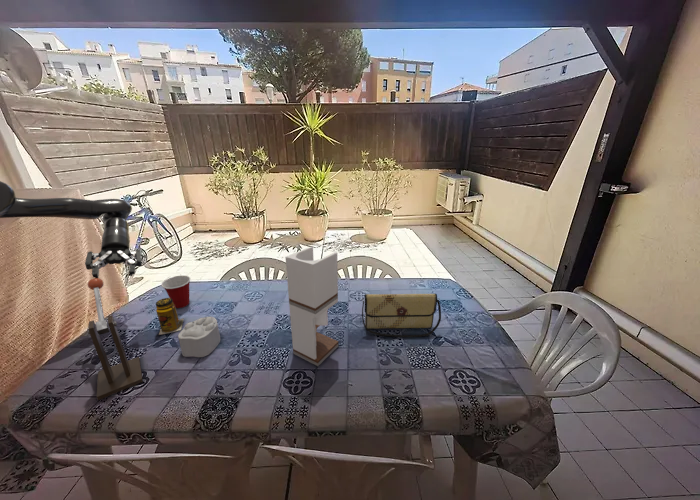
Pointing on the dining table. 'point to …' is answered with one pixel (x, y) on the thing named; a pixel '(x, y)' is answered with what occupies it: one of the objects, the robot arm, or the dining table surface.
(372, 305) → the clutch purse
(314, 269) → the white tall boxy piece
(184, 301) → the plastic cup
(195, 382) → the dining table surface
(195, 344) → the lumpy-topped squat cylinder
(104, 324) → the lever
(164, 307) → the condiment
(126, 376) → the bracket
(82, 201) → the robot arm
